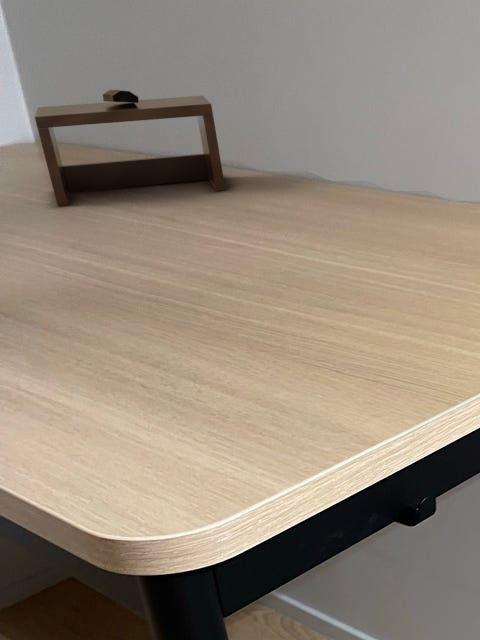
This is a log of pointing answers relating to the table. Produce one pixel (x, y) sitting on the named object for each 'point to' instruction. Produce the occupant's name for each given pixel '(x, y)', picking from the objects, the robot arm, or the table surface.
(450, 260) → the table surface
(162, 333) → the table surface
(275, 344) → the table surface
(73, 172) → the shelf
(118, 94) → the block
